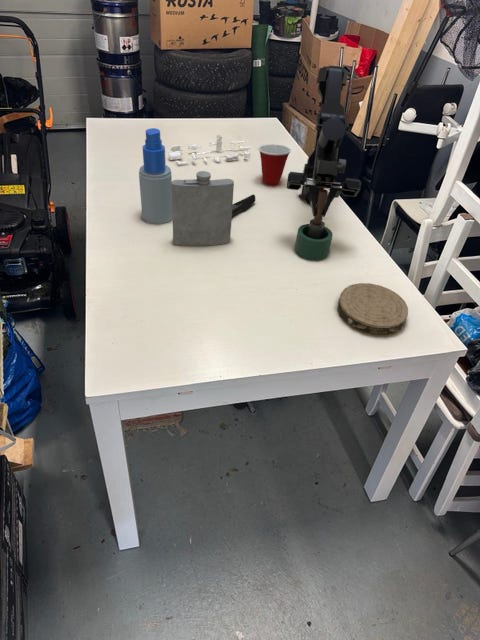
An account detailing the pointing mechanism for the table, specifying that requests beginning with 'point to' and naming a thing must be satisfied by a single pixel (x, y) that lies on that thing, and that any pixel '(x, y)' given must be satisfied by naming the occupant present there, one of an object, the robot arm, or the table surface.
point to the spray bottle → (155, 181)
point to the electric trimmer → (243, 204)
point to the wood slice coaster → (372, 309)
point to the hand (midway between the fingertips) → (319, 216)
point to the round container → (313, 244)
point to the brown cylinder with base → (318, 217)
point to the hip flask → (202, 210)
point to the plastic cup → (273, 162)
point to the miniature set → (177, 155)
